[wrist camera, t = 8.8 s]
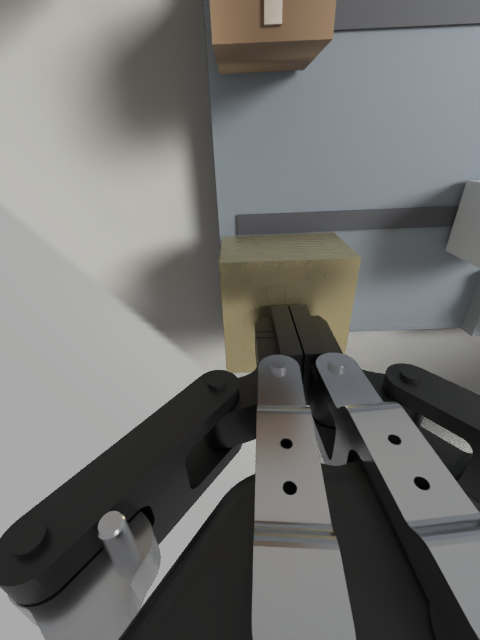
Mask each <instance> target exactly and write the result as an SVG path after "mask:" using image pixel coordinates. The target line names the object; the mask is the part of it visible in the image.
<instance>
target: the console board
mask: <svg viewBox="0 0 480 640" xmlns="http://www.w3.org/2000/svg"><path fill="white" fill-rule="evenodd" d="M203 6H204V21H205V35H206V49H207V63H208V78H209V92H210V106H211V120H212V135H213V149H214V163H215V178H216V192H217V206H218V220H219V235H220V249H221V245H222V239H223V237H226V236H252V235H278V234H303V233H329V232H334V233H335V234H337V235H338V236H339V237H340V238H341V239H342V240H343V241H344V242H345V243H346V244H347V245H348V246H349V247H350V248H352V249H353V250H354V251H355V252H356V253H357V254H358V255H359V256H360V257H361V261H360V267H359V273H358V279H357V285H356V291H355V297H354V303H353V309H352V315H351V321H350V327H349V332H354V331H383V330H411V329H440V328H462V329H463V330H465V331H466V332H467V333H468V334H469V335H471V336H480V268H478V267H476V266H474V265H472V264H470V263H468V262H466V261H465V260H463V259H461V258H459V257H457V256H455V255H453V254H451V253H449V252H447V251H445V250H446V247H447V243H448V240H449V237H450V234H451V230H452V227H453V224H454V221H455V217H456V214H457V211H458V208H459V204H460V201H461V198H462V195H463V191H464V188H465V185H466V182H467V180H480V0H336V10H335V21H334V33H333V39H332V41H331V42H330V43H329V44H328V45H327V46H326V47H325V48H324V49H323V50H322V51H321V52H320V53H319V54H318V56H317V57H316V58H315V59H314V60H313V61H312V62H311V63H310V64H309V65H308V66H307V67H306V68H305V70H299V71H277V72H255V73H232V74H220V72H219V69H218V65H217V61H216V57H215V53H214V49H213V45H212V31H211V15H210V0H203Z"/></svg>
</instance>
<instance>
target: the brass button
mask: <svg viewBox="0 0 480 640" xmlns="http://www.w3.org/2000/svg"><path fill="white" fill-rule="evenodd" d="M360 261H361V257H360V256H359V255H358V254H357V253H356V252H355V251H354V250H353V249H352V248H350V247H349V246H348V245H347V244H346V243H345V242H344V241H343V240H342V239H341V238H340V237H339V236H338V235H337V234H335V233H334V232H329V233H303V234H278V235H252V236H226V237H223V239H222V245H221V252H220V258H219V272H220V285H221V299H222V312H223V326H224V339H225V352H226V366H227V371H228V372H231V373H240V372H253V371H254V370H255V369H256V368H257V367H256V356H255V323H256V322H257V320H258V319H259V318H267V317H270V306H285V305H287V306H288V305H306V306H307V308H308V310H309V313H310V315H311V316H315V315H319V316H320V317H322V318H323V319H324V320H326V321H327V323H328V325H329V327H330V330H331V331H332V333H333V336H334V337H335V339H336V340H337V342H338V344H339V346H340V348H341V350H342V352H343V354H344V355H345V351H346V345H347V339H348V333H349V327H350V321H351V315H352V309H353V303H354V297H355V291H356V285H357V279H358V273H359V267H360Z"/></svg>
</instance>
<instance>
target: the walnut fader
mask: <svg viewBox="0 0 480 640" xmlns="http://www.w3.org/2000/svg"><path fill="white" fill-rule="evenodd" d="M335 10H336V0H210V15H211V31H212V45H213V49H214V53H215V57H216V61H217V65H218V69H219V72H220V74H232V73H255V72H277V71H299V70H305V68H306V67H307V66H308V65H309V64H310V63H311V62H312V61H313V60H314V59H315V58H316V57H317V56H318V54H319V53H320V52H321V51H322V50H323V49H324V48H325V47H326V46H327V45H328V44H329V43H330V42H331V41H332V39H333V33H334V21H335Z"/></svg>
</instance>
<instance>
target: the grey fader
mask: <svg viewBox="0 0 480 640" xmlns="http://www.w3.org/2000/svg"><path fill="white" fill-rule="evenodd" d="M445 251H447V252H449V253H451V254H453V255H455V256H457V257H459V258H461V259H463V260H465V261H466V262H468V263H470V264H472V265H474V266H476V267H478V268H480V180H467V182H466V185H465V188H464V191H463V195H462V198H461V201H460V204H459V208H458V211H457V214H456V217H455V221H454V224H453V227H452V230H451V234H450V237H449V240H448V243H447V247H446V250H445Z"/></svg>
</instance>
